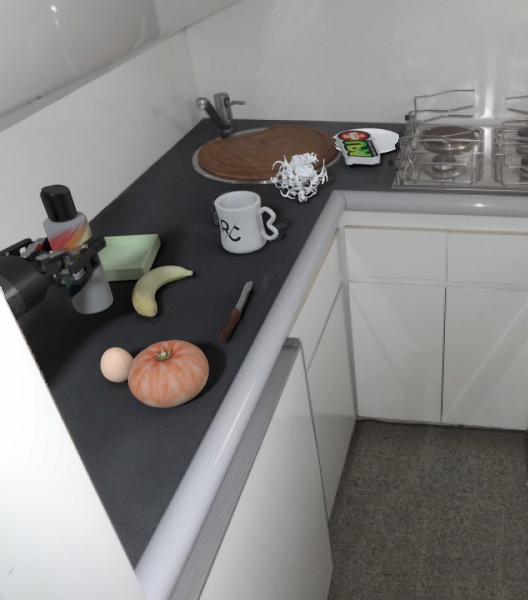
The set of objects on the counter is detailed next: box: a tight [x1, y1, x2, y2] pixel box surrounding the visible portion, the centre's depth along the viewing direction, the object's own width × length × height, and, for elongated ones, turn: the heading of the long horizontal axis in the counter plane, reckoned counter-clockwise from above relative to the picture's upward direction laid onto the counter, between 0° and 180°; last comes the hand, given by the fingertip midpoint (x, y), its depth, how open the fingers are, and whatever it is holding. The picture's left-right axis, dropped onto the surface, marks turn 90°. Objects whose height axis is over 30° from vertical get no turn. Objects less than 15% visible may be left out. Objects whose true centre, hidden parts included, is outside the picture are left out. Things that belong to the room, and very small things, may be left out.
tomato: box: [127, 339, 210, 409], centre depth 82 cm, size 11×11×8 cm
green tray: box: [59, 233, 162, 285], centre depth 114 cm, size 15×13×2 cm
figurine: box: [270, 152, 329, 203], centre depth 137 cm, size 13×15×12 cm
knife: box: [218, 280, 254, 344], centre depth 99 cm, size 18×2×3 cm, turn 177°
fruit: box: [131, 265, 194, 318], centre depth 104 cm, size 7×15×3 cm, turn 172°
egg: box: [100, 346, 134, 383], centre depth 85 cm, size 4×4×6 cm
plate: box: [332, 127, 400, 155], centre depth 167 cm, size 21×21×1 cm
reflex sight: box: [210, 191, 230, 225], centre depth 130 cm, size 4×10×5 cm, turn 9°
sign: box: [335, 129, 381, 166], centre depth 158 cm, size 22×2×10 cm
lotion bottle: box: [39, 184, 114, 315], centre depth 87 cm, size 6×6×20 cm
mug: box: [213, 190, 279, 255], centre depth 117 cm, size 12×9×10 cm
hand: (84, 236), depth 88 cm, fingers closed on lotion bottle, 5 cm apart
